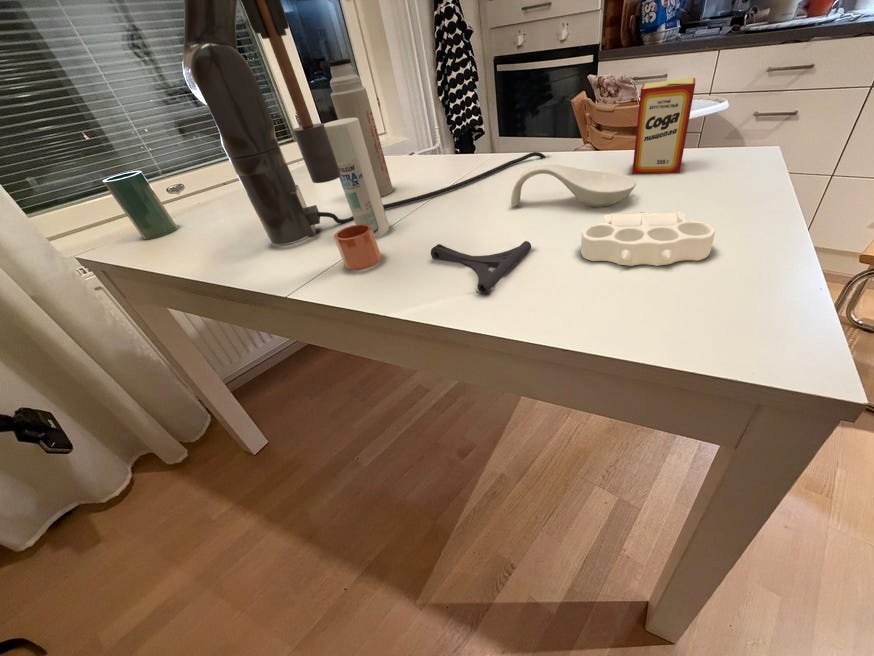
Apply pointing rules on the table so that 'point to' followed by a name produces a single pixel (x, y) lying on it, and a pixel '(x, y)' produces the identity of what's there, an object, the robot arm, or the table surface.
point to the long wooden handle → (301, 109)
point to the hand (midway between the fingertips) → (274, 36)
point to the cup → (141, 204)
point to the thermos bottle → (359, 116)
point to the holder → (358, 246)
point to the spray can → (357, 173)
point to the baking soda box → (662, 126)
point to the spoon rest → (582, 184)
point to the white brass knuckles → (647, 239)
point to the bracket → (484, 263)
